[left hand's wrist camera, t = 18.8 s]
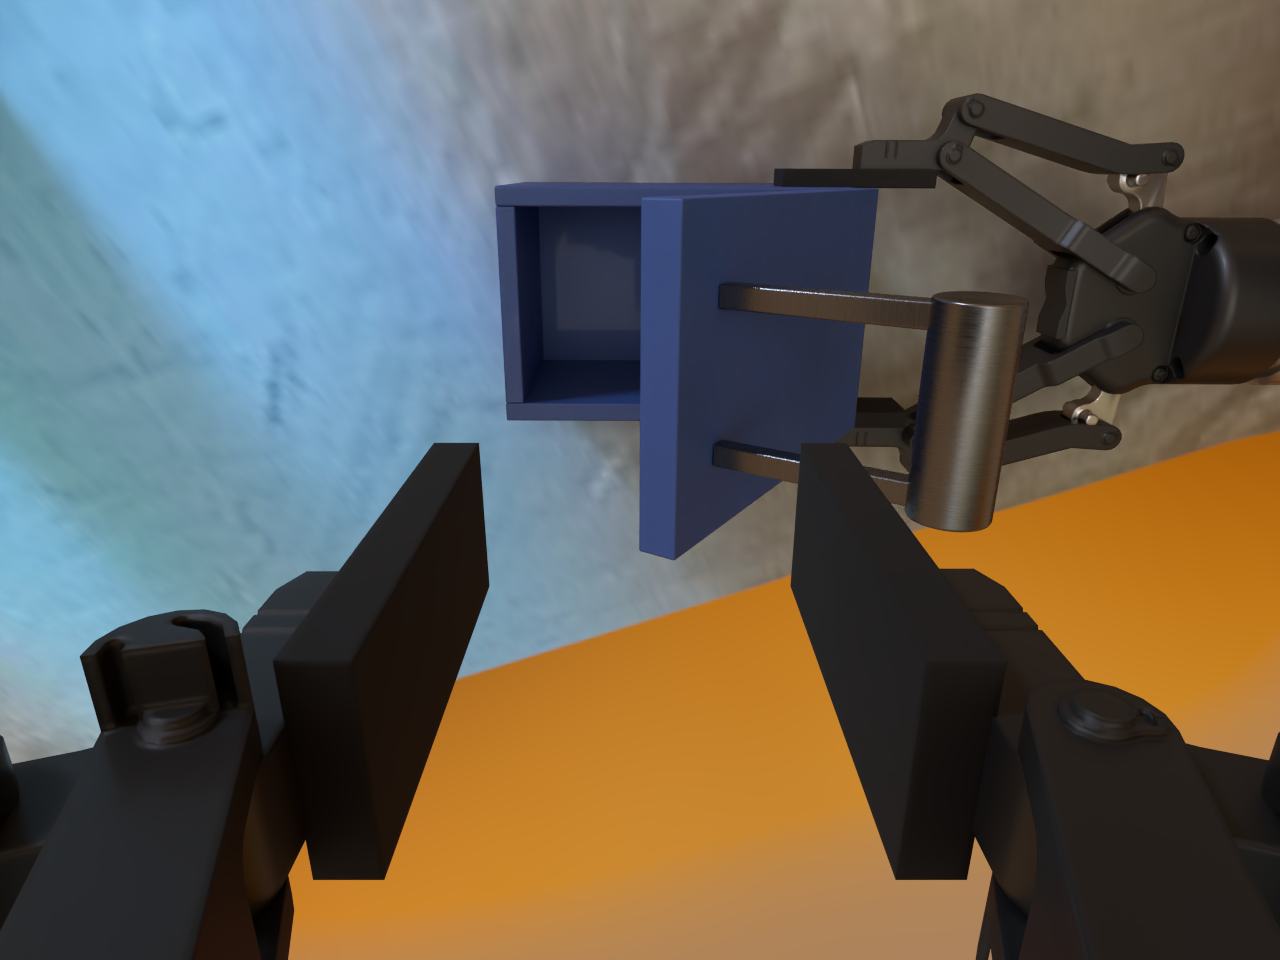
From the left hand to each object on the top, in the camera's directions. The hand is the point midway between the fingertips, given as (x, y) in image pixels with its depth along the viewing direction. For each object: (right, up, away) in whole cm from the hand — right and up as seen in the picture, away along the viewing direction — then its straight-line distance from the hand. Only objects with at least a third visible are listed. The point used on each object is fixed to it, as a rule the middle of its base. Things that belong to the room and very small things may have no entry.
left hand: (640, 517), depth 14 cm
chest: (+1, +11, +31) cm, 33 cm away
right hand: (+6, +9, +24) cm, 26 cm away
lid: (+4, +5, +15) cm, 16 cm away
